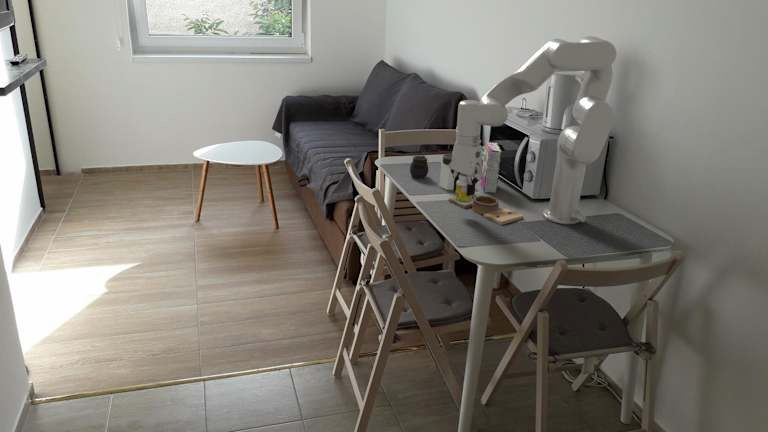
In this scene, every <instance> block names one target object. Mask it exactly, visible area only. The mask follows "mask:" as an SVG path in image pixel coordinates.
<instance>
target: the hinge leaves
mask: <svg viewBox="0 0 768 432" xmlns="http://www.w3.org/2000/svg"><path fill="white" fill-rule="evenodd" d="M455 197H456V196H454V197H449V198H448V202H449V203H451V204H454V205H456V206H458V207H461V208H463V209H467V208H471V207H472V209H471V210H472V211H473V212H476V213H477V214H479V215H480V214H481V215H483V216H482V217H483V218H485V219H488V220H490V221H492V222H493V223H496V224H499V225H501V226H502V225H506V224H508V223H513V222H515V221H518V220H523V219H524V215H523V214H521V213H519V212H516V211H513V210H511V209H508V208H506V207H504V208H501V209H499V205H500V202H499V201H500V200H499V199H498V198H496V197H493V196H491V195H490V196H489V195H476V194H474V195H472V200H471V203H469V204H459V203H457V202H456V201H455Z"/></svg>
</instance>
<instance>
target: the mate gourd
mask: <svg viewBox="0 0 768 432" xmlns="http://www.w3.org/2000/svg"><path fill="white" fill-rule="evenodd" d="M425 154H426V150H423V153H422V155H414V156H412V162H411V163H410V165H409V172H410V175H411V177H413V178H414V179H425V178H426V177H427V176H428V174H429V165H428V157H427V156H425Z"/></svg>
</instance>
